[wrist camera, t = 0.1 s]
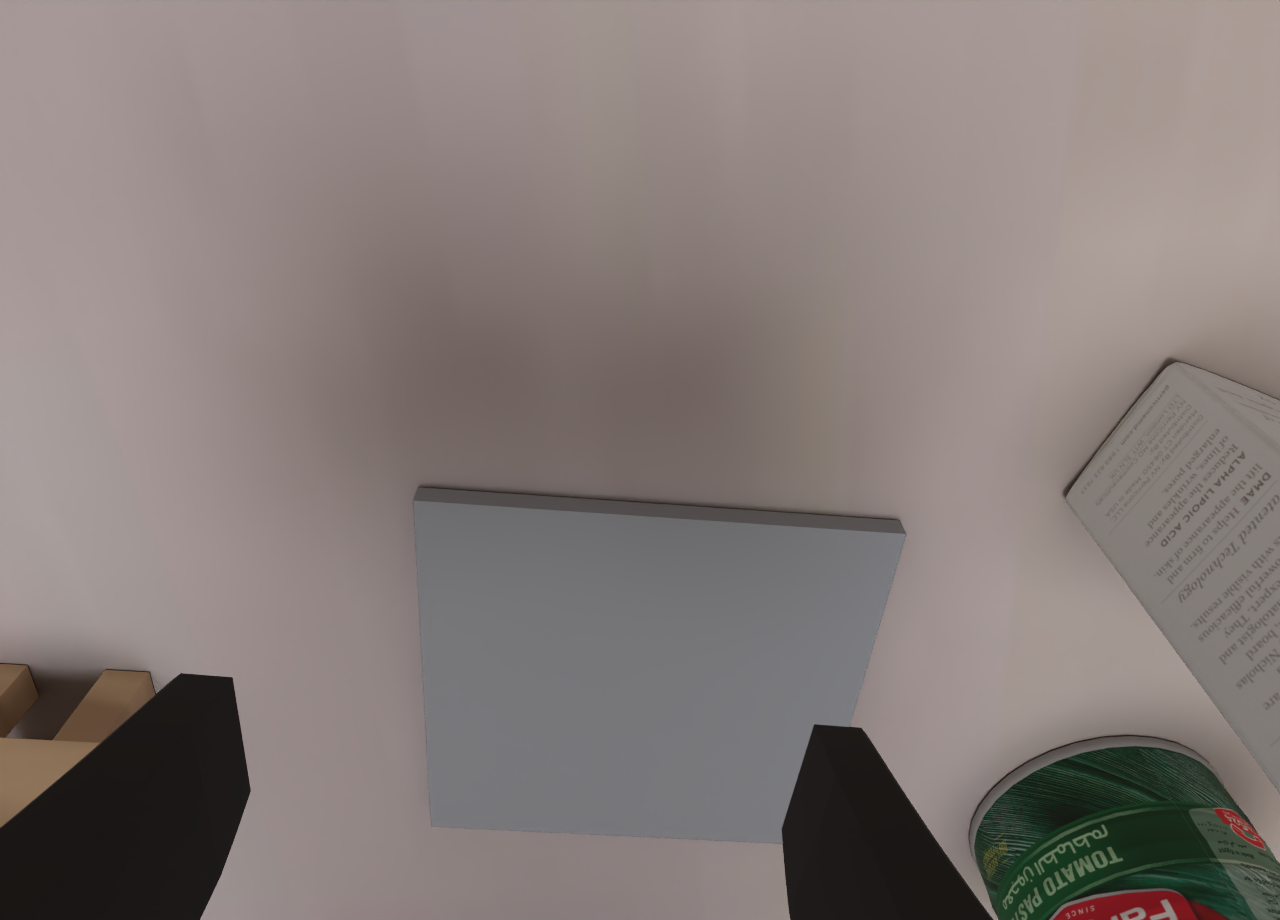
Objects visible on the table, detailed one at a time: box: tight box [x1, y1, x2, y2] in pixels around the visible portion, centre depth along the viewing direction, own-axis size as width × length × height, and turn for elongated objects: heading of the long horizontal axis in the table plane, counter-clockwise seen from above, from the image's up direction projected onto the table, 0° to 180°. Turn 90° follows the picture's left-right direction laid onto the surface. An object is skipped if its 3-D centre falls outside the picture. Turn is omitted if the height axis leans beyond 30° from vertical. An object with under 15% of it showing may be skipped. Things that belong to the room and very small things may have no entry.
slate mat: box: [413, 487, 906, 844], centre depth 24 cm, size 12×12×1 cm
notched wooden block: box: [0, 664, 155, 827], centre depth 22 cm, size 4×4×7 cm
